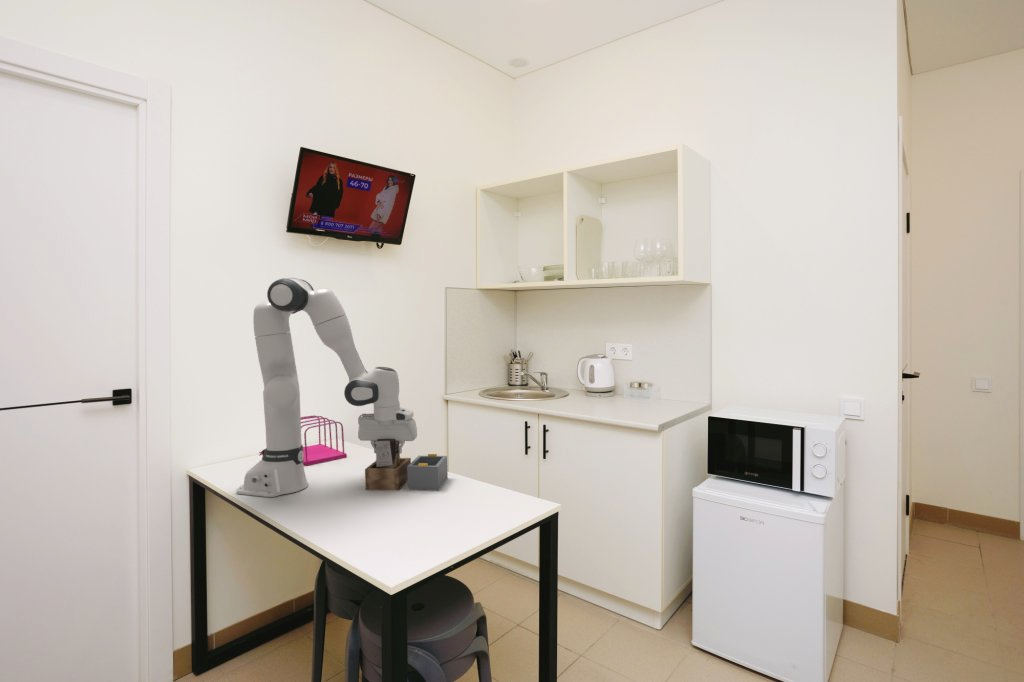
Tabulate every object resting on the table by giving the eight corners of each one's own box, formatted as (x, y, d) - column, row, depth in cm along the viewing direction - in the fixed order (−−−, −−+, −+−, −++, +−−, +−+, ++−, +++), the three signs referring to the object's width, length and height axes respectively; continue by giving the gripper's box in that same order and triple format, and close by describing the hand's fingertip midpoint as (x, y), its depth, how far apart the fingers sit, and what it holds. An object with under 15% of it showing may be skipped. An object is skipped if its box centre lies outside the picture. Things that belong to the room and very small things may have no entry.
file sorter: (305, 466, 207) (304, 426, 207) (281, 455, 225) (279, 418, 225) (347, 457, 219) (345, 420, 219) (321, 447, 237) (319, 412, 237)
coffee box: (395, 487, 180) (393, 440, 179) (376, 487, 180) (374, 440, 179) (401, 478, 189) (400, 434, 188) (383, 479, 189) (381, 434, 188)
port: (408, 490, 177) (407, 464, 177) (419, 477, 190) (418, 453, 190) (438, 490, 176) (437, 464, 175) (447, 477, 189) (447, 453, 189)
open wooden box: (365, 489, 178) (364, 469, 178) (380, 476, 192) (380, 457, 192) (398, 490, 177) (397, 469, 176) (411, 476, 191) (410, 457, 191)
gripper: (354, 415, 181) (355, 455, 182) (412, 415, 179) (413, 455, 180) (361, 411, 188) (362, 450, 188) (417, 412, 185) (418, 451, 186)
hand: (388, 453), depth 184 cm, fingers closed on coffee box, 6 cm apart
